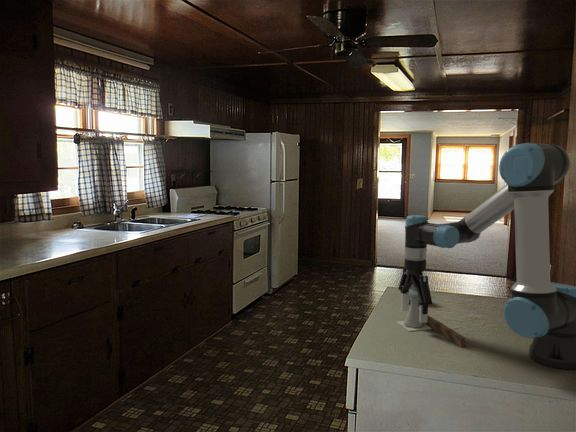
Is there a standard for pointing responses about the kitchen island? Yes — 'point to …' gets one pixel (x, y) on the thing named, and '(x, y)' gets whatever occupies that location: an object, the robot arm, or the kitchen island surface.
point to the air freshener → (413, 293)
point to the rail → (446, 331)
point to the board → (413, 327)
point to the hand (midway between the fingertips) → (413, 316)
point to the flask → (413, 314)
